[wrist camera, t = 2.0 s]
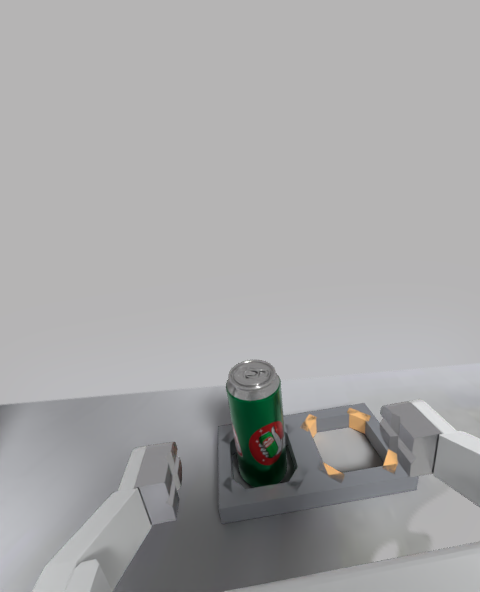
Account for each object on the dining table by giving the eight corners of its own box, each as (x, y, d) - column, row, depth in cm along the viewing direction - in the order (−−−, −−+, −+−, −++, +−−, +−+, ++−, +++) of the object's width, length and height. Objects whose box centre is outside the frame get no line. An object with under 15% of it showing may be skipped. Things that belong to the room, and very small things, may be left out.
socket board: (221, 524, 23) (218, 508, 22) (220, 438, 31) (218, 426, 31) (416, 489, 24) (418, 474, 23) (363, 415, 32) (364, 403, 31)
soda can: (245, 444, 30) (232, 356, 26) (288, 449, 29) (281, 357, 25) (234, 488, 26) (217, 389, 22) (285, 496, 24) (277, 393, 20)
